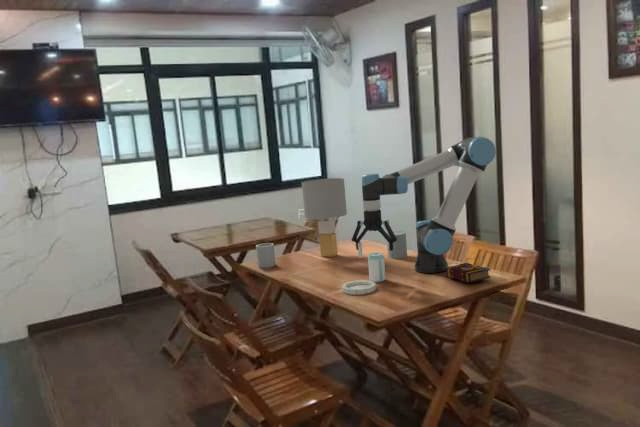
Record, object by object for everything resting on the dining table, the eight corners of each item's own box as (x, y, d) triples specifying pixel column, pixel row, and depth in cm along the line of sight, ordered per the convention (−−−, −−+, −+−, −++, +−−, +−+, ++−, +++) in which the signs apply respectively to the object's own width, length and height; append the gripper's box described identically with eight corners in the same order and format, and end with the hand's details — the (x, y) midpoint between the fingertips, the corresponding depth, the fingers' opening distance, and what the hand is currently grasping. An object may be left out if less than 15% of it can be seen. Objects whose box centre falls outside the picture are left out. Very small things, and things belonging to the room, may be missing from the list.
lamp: (357, 252, 306) (351, 177, 300) (336, 262, 287) (330, 182, 281) (322, 251, 318) (316, 179, 313) (300, 260, 299) (293, 183, 293)
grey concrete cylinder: (386, 256, 292) (384, 233, 290) (402, 253, 295) (400, 230, 293) (393, 259, 283) (392, 235, 281) (410, 256, 285) (409, 233, 284)
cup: (277, 267, 288) (275, 244, 286) (261, 270, 285) (258, 247, 283) (272, 264, 296) (270, 242, 295) (256, 267, 293) (254, 244, 292)
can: (367, 280, 248) (364, 253, 246) (381, 277, 250) (379, 251, 248) (374, 283, 241) (371, 256, 239) (388, 280, 243) (386, 254, 242)
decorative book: (469, 284, 229) (469, 272, 228) (444, 276, 243) (443, 265, 242) (490, 278, 234) (490, 267, 233) (464, 271, 248) (464, 261, 247)
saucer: (380, 285, 237) (379, 280, 236) (368, 295, 224) (368, 290, 224) (349, 284, 243) (349, 279, 242) (337, 294, 230) (336, 288, 230)
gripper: (402, 208, 239) (404, 256, 242) (348, 208, 250) (351, 254, 253) (397, 210, 232) (399, 260, 235) (342, 211, 243) (345, 258, 246)
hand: (375, 257), depth 244 cm, fingers open, 13 cm apart
